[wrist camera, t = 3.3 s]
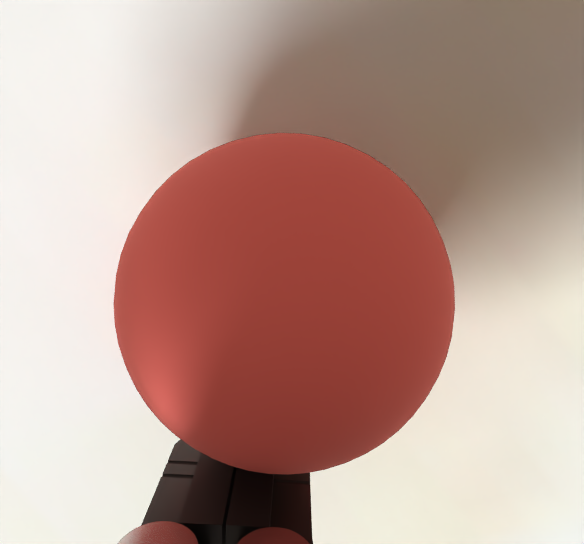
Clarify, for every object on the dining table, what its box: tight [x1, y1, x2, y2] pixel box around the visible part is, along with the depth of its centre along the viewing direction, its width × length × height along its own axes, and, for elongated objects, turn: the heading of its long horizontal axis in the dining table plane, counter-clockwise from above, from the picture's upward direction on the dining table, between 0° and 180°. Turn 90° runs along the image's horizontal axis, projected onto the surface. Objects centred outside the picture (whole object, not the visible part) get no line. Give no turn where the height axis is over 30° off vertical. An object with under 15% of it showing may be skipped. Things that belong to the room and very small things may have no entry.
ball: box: [114, 133, 455, 475], centre depth 9 cm, size 6×6×6 cm
